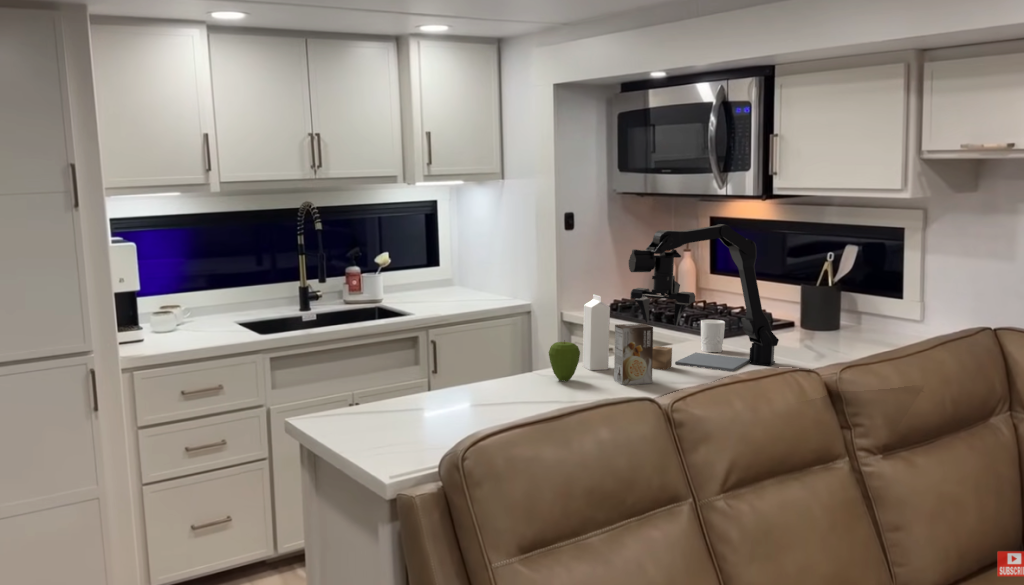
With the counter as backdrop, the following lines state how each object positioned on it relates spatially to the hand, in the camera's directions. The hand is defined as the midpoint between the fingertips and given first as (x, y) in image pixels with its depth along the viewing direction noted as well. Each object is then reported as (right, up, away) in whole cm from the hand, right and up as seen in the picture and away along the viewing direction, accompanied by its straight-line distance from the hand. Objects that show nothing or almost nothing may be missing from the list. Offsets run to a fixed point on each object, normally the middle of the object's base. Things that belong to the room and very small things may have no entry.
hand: (661, 323), depth 264 cm
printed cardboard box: (-11, -16, -19) cm, 27 cm away
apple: (-30, -15, -18) cm, 38 cm away
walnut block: (0, -13, +1) cm, 13 cm away
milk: (-20, -13, -1) cm, 24 cm away
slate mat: (+18, -12, +9) cm, 23 cm away
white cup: (+22, -10, +29) cm, 37 cm away
